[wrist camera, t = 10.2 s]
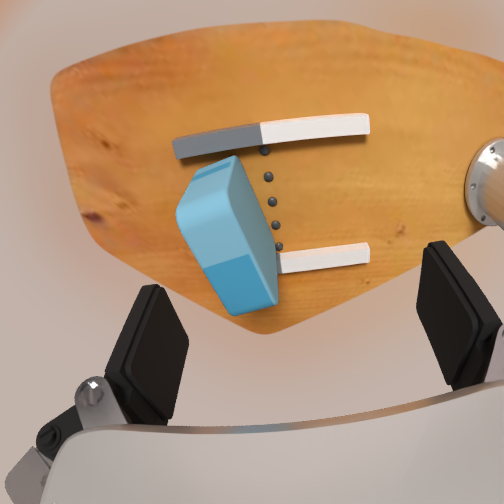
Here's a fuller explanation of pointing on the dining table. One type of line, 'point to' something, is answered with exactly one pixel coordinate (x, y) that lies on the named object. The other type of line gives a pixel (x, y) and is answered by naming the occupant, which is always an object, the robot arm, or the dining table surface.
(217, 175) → the blue rounded box
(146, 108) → the dining table surface
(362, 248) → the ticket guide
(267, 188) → the dining table surface
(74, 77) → the dining table surface
